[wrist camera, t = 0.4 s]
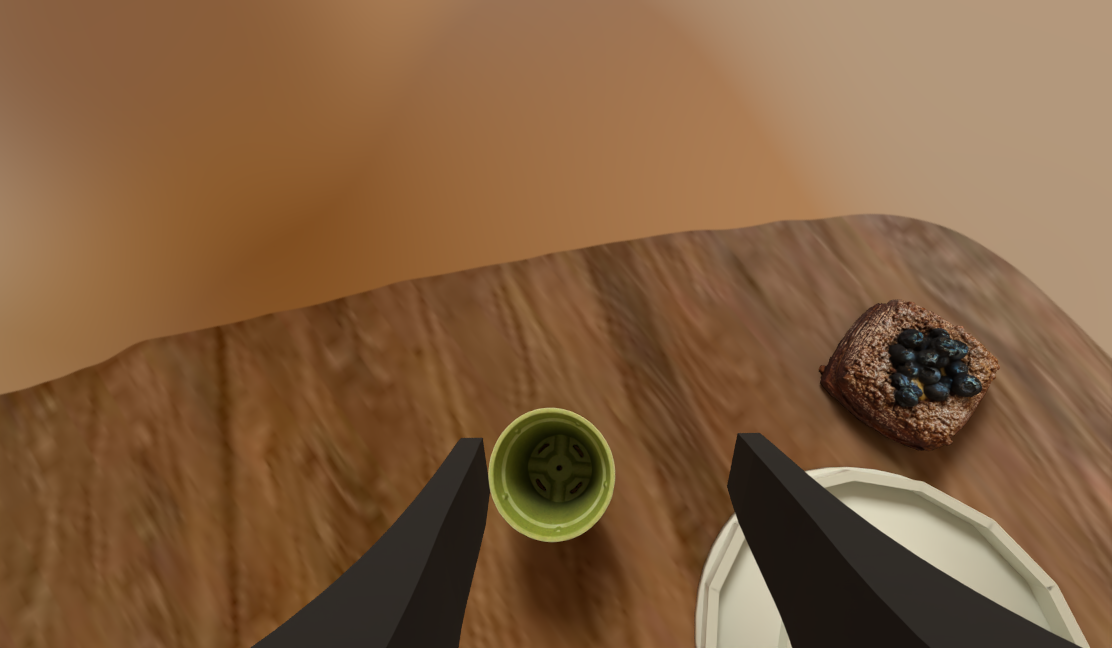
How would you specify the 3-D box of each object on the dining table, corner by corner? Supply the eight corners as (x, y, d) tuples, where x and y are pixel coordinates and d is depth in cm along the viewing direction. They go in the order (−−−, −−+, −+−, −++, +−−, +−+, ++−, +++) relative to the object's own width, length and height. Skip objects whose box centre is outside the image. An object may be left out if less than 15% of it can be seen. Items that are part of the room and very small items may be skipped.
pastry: (802, 385, 40) (836, 375, 34) (871, 291, 41) (913, 267, 36) (916, 466, 37) (973, 470, 31) (984, 362, 39) (1049, 347, 33)
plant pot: (562, 395, 41) (553, 382, 33) (632, 470, 39) (641, 476, 31) (491, 463, 40) (463, 468, 32) (558, 545, 38) (547, 573, 29)
